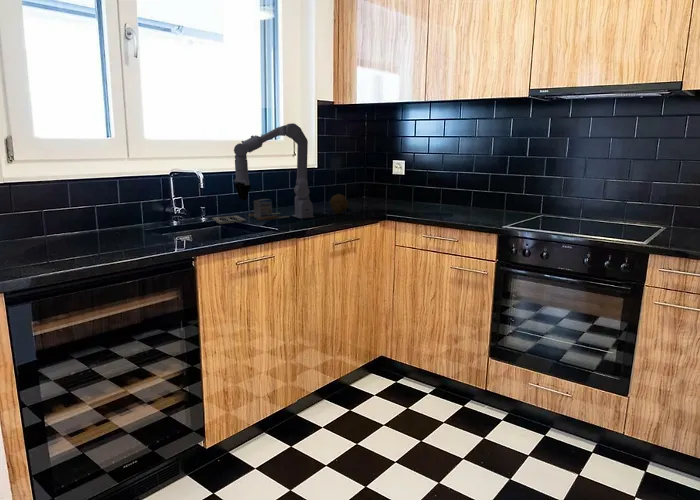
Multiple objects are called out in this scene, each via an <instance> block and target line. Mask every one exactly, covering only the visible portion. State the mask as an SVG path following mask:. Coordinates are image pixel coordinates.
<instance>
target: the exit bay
mask: <svg viewBox="0 0 700 500" xmlns="http://www.w3.org/2000/svg"><path fill="white" fill-rule="evenodd" d="M276 215H281V212H275V213H273V212H272V216H276ZM290 217H291V216H290V215H284V216H278V218H277V219H285V218H290Z"/></svg>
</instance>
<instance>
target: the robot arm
mask: <svg viewBox="0 0 700 500" xmlns="http://www.w3.org/2000/svg"><path fill="white" fill-rule="evenodd" d="M276 137H288V138H289V139H291V140H292V141H294V142H295V144H297V148H296V151H297V154H296V156H297V157H296V162H297V163H296V180H295V186H294V189H293V192H294V194H295V196H294V198H293V199H294V214H291V216H292V217H294V218H298V219H299V220H300V219H308V218H315V215H314V210H313V209H314V207H313V205H314V204H313V203H312V201H311V200H310V192H311V190H310V188H309V182H308V151H309V150H308V145H309V142H308V138H307V137H306V134H304V132H303V129H302V128H301V127H300V126H299V125H298V124H296V123H292V122H291V123H287V124H286V125H285V124H284V125H281V126H279V127H275V128H273V129H272V130H270V131H267V132H266V133H265V134H264V133H263V134H262V135H260V136H259V135H257V134H255V135H254V134H253V135H251V136H250V138H248V139H246V140H241V143H240V142H239V143H237V144H236V145H235V146H234V148H233V152H234V154H235V155H234V168H235V169H234V171H235V173H234V174H235V178H234V179H233V180H232V181H233V182H234V184H233V185H234V187H235V190H236V193H237V196H238V198H239V200H242V201H247V200H248V197H249V191H250V188H251V187H252V185H251V184H250V180H249V167H248V165H249V164H248V162H249V161H248V159H247V158H248V157H247V156H248V155H247V154H248V153H252V152H253V151H256V150H258V149H260V148H262V147H263V144H264V143H267V141H270V140H272V139H275V138H276Z"/></svg>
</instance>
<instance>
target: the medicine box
mask: <svg viewBox="0 0 700 500" xmlns="http://www.w3.org/2000/svg"><path fill="white" fill-rule="evenodd" d="M272 203H273V200H272V199H271V198H262V199H256V200H253V214H254V217H253V218H254V219H257V217H266V216H273V215H272V213H273V204H272Z"/></svg>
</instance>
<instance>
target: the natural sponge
mask: <svg viewBox="0 0 700 500" xmlns="http://www.w3.org/2000/svg"><path fill="white" fill-rule="evenodd" d="M329 203H330V204H329V205H330V207H331V209H332V211H333V212H334V213H335V214H337V215H341V214H343V212H344V211H346V210H347V209H348V208H349V206H350V205H349V201H348V198H347V197H346V196H344V195H343V194H341V193H337V194H335V195H333V196H331V198H330V200H329Z"/></svg>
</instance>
